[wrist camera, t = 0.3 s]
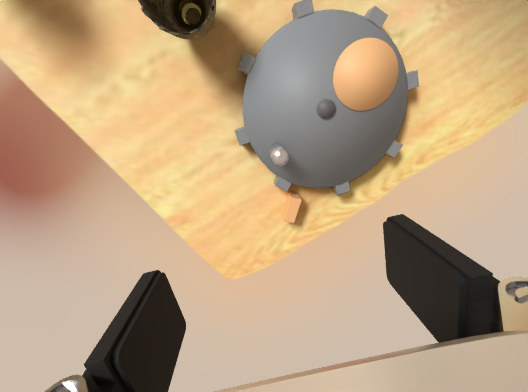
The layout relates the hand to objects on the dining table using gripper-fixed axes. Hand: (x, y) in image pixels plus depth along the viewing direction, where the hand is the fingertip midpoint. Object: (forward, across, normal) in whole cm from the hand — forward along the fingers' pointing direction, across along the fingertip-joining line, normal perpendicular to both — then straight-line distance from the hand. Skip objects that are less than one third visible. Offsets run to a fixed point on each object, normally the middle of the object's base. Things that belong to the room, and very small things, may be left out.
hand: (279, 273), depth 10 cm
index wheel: (+28, -10, -5) cm, 30 cm away
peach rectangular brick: (+28, -4, +9) cm, 30 cm away
